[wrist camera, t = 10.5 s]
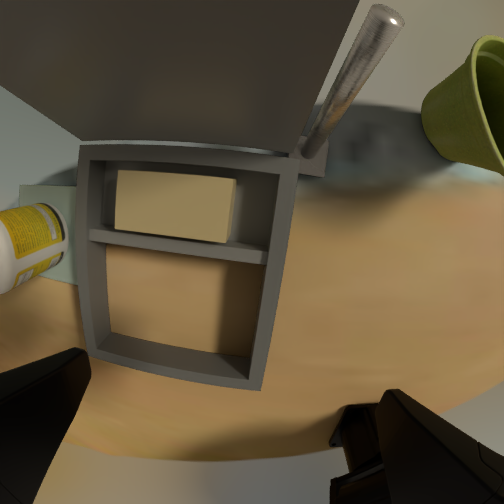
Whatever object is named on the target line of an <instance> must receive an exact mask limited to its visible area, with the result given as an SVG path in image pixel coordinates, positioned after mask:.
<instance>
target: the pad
mask: <svg viewBox="0 0 504 504" xmlns="http://www.w3.org/2000/svg"><path fill="white" fill-rule="evenodd" d="M36 203H49V204H52V205H54V206H55V207H56V208H57V209H58V210H59V211H60V212H61V214H62V215H63V217H64V219H65V221H66V224H67V228H68V234H69V244H68V250H67V253H66V255H65V257H64V259H63V260H62V261H61V262H60V263H59V264H57V265H56V266H54V267H52V268H50V269H48V270H46V271H44V272H42V273H40V274H38V275H39V276H42V277H46V278H50V279H54V280H58V281H62V282H66V283H70V284H74V285H78V280H77V266H76V244H75V206H76V186H50V185H20V190H19V207H22V206H27V205H31V204H36Z"/></svg>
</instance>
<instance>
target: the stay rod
mask: <svg viewBox="0 0 504 504" xmlns="http://www.w3.org/2000/svg"><path fill="white" fill-rule="evenodd" d="M404 24H405V23H404V20H403V18H402V16H401V15H400V14H399V13H398V12H396V11H395V10H393V9H392V8H390V7H388V6H385V5H382V4H374V5H372V6H371V8H370V10H369V12H368V14H367V17H366V19H365V20H364V23H363V24H362V27H361V29H360V31H359V33H358V35H357V37H356V39H355V41H354V43H353V45H352V47H351V49H350V51H349V53H348V55H347V57H346V59H345V61H344V63H343V65H342V67H341V69H340V71H339V73H338V75H337V77H336V79H335V81H334V83H333V85H332V87H331V89H330V91H329V93H328V95H327V97H326V99H325V101H324V103H323V105H322V107H321V109H320V111H319V113H318V116H317V118H316V120H315V122H314V124H313V126H312V128H311V130H310V132H309V134H308V136H307V137H306V136H300V138H299V141H298V143H297V145H296V148H295V150H294V152H293V154H292V153H288V155H287V158H293V159H299V160H300V165H299V172H298V174H303V175H309V176H315V177H321V178H324V176H325V168H326V161H327V153H328V145H329V141H327V138H328V137H329V135H330V134H331V132H332V131H333V129H334V128H335V126H336V125H337V123H338V122H339V120H340V119H341V117H342V116H343V114H344V113H345V111H346V110H347V109H348V107H349V106H350V104H351V103H352V101H353V100H354V98H355V97H356V95H357V94H358V92H359V91H360V89H361V88H362V86H363V85H364V83H365V82H366V80H367V79H368V78H369V76H370V75H371V73H372V72H373V70H374V69H375V67H376V66H377V64H378V63H379V61H380V60H381V58H382V57H383V55H384V54H385V52H386V51H387V49H388V48H389V47H390V45H391V44H392V42H393V41H394V39H395V38H396V36H397V35H398V33H399V32H400V30H401V29H402V27H403V26H404Z"/></svg>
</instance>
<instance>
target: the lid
mask: <svg viewBox="0 0 504 504" xmlns="http://www.w3.org/2000/svg"><path fill="white" fill-rule="evenodd" d="M358 3H359V0H0V85H1V86H2V87H3V88H5V89H6V90H8V91H9V92H11V93H12V94H14V95H15V96H17V97H18V98H20V99H21V100H23V101H24V102H26V103H27V104H29V105H30V106H32V107H33V108H34V109H36V110H37V111H39V112H40V113H42V114H43V115H45V116H46V117H48V118H49V119H51V120H52V121H54V122H55V123H56V124H58V125H60V126H61V127H62V128H64V129H66V130H67V131H68V132H70V133H71V134H73V135H75V136H76V137H77V138H79V139H80V140H82V141H96V140H154V141H179V142H195V143H208V144H220V145H230V146H240V147H248V148H256V149H264V150H271V151H278V152H285V153H292V154H293V152H294V150H295V148H296V145H297V143H298V141H299V138H300V136H301V134H302V131H303V129H304V127H305V125H306V122H307V120H308V118H309V115H310V113H311V111H312V108H313V106H314V104H315V102H316V99H317V97H318V95H319V92H320V90H321V88H322V86H323V83H324V81H325V78H326V76H327V74H328V72H329V69H330V67H331V65H332V63H333V60H334V58H335V56H336V53H337V51H338V49H339V47H340V44H341V42H342V39H343V37H344V35H345V33H346V31H347V28H348V26H349V23H350V21H351V19H352V17H353V14H354V12H355V10H356V7H357V5H358Z"/></svg>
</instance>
